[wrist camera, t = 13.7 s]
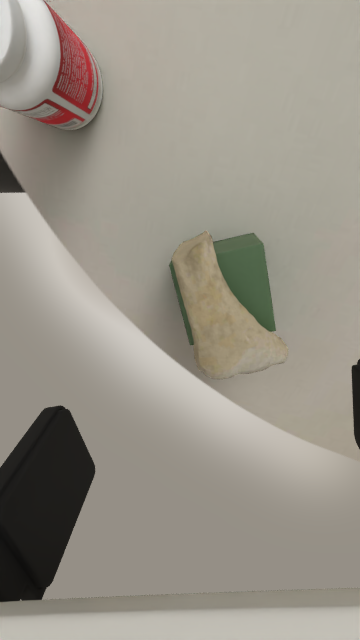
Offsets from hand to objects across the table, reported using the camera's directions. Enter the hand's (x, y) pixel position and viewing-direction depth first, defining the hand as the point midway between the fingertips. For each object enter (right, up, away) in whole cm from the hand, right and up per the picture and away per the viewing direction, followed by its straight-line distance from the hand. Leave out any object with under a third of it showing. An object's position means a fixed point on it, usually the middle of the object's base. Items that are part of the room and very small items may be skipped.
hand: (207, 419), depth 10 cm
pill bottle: (-10, +22, +15) cm, 28 cm away
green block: (+3, +7, +19) cm, 21 cm away
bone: (+2, +5, +14) cm, 15 cm away
